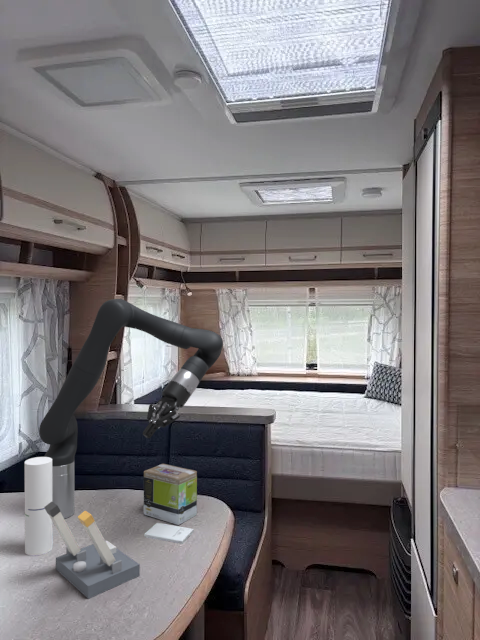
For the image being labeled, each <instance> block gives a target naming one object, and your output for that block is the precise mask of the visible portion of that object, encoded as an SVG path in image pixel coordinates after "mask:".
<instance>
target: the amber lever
mask: <svg viewBox="0 0 480 640" xmlns="http://www.w3.org/2000/svg"><path fill="white" fill-rule="evenodd" d="M77 519H78V520H79V523H80V524H81V525H82V526H83V528H84V530H85V532H86V534H87V536H88V538H89V539H90V541H91V544H94V546H95V548H96V550H97V552H98V553H99V555H100V557H101V559H102V561H103V562H104V563H106V564H107V565H108V566H111V567H112V563H114V561H115V558H114V556H113V554H112V552H111V551H110V549H109V547H108V545H107V543H106V541H107V540H106V539H105V538H104V536H103V534H102V532H101V531H100V529H99V527H98V525H97V523H96V521H95V518H94V517H93V515H92V514H91V513H90V512H88V511H87V510H84V511H83V512H81V513H80V514H79V515H78V516H77ZM105 540H106V541H105Z"/></svg>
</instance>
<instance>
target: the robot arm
mask: <svg viewBox="0 0 480 640" xmlns="http://www.w3.org/2000/svg"><path fill="white" fill-rule="evenodd" d="M122 328H129V329H134V330H138V331H141V332H144V333H146V334H148V335H150V336H152V337H155V338H156V339H158V340H160V341H162V342H164V343H165V344H169V345H171V346H174V347H177V348H180V349H183V350H188V349H190V348H196V349H197V350H196V352H195V353H194V354H193V355H192V356H190V357H188V358H187V360H186V361H185V362H184V363H183V365H182V366H181V367H180V369H179V370H178V371H177V372H176V373H175V374H174V375H173V377H172V378H171V379H170V381H169V382H168V384H167V385H166V386H165V387H164V388H163V390H162V391H161V395H162V396H161V398H160V399H159V400H158V401H157V403H156V404H153V403H150V404H149V405H148V411H147V416H146V420H147V421H148V422H149V423H148V424H147V426H146V427H145V429H143V432H142V435H143V436H144V437H145V438H146V439H151V438H152V437H153V435H154V434H155V433H156V431H157V430H158V429H160V428H163V429H164V428H165V427H168V426H169V425H170V424H172V423H174V422H175V421H177V420H178V419H179V418H180V414H179V413H178V411H179V410H180V408H183V407H184V406H185V405H186V403H187V402H188V401H189V399H190V398H191V396H192V395H193V394H194V392H195V391H196V389H197V387H198V386H199V384H200V382H202V381H201V380H203V378H204V377H205V375H206V373H207V372H208V370H210V368H211V367H212V366H213V365H214V364H215V363H216V361H218V359H219V357H220V356H221V354H222V351H223V350H222V349H223V345H224V340H223V338H222V336H221V335H219V333H217V332H215V331H212V330H209V329H203V328H196V327H195V328H193V327H189V326H187V325H185V324H181V323H178V322H176V321H173V320H170V319H166V318H163V317H160V316H157V315H155V314H152V313H150V312H147V311H146V310H143V309H141V308H139V307H137V306H136V305H134V304H132V303H131V302H129V301H127V300H126V299H123V298H114V299H109V300H106V301H105V302H103V303H102V304H101V306H100V307H99V308H98V311H97V313H96V316H95V319H94V322H93V324H92V327H91V329H90V333H89V334H88V336H87V338H86V340H85V342H84V343H83V345H82V347H81V349H80V351H79V352H78V354H77V356H76V358H75V360H74V361H73V363H72V366H71V367H70V369H69V371H68V374H67V376H66V378H65V379H64V382H63V384H62V386H61V388H60V390H59V392H58V394H57V396H56V398H55V399H54V401H53V403H52V404H51V406H50V408H49V409H48V411H47V413H46V414H45V415H44V417H43V419H42V420H41V421H40V425H39V430H38V433H39V438H40V439H41V441H42V442H43V443H45V444H47V445H50V446H49V447H48V449H47V451H46V452H45V454H44V456H43V457H49V458H52V502H54V503H55V504H56V505H58V507H59V509H60V511H61V514H62V516H63V518H64V520H66V519H68V518H70V517H72V516H73V515H74V514H75V457H76V456H75V455H76V453H77V449H78V434H79V433H78V429H79V428H78V421H77V418H76V417H75V415H74V414H75V412H76V410H77V409H78V407H79V406H80V405H81V404H82V403H83V402H84V401H85V400H86V398H87V397H88V396H89V395H90V394H91V392H92V391H93V390H94V388H95V387H96V385H97V384H98V382H99V379H100V378H101V376H102V374H103V372H104V369H105V367H106V363H107V360H108V355H109V350H110V347H111V345H112V343H113V341H114V339H115V338H116V336H117V334H118V333H119V332H120V330H121V329H122Z"/></svg>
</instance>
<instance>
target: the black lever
mask: <svg viewBox="0 0 480 640" xmlns="http://www.w3.org/2000/svg"><path fill="white" fill-rule="evenodd" d="M44 508H45V510H46V512H47V513H48V514H49V516H50V518H51V520H52V524H53V525H54V527H55V529H56V530H57V532H58V534H59V536H60V538H61V540H62V542H63V543H64V545H65V548H66V547H67V549H68V551H69V552H70V553H71V554H72V555H74V556H77V553H79V552H80V551H81V548H80V546H79V544H78V542H77V540H76V538H75V536H74V535H73V533H72V531H71V529H70V527H69V525H68V523H67V522H66V519H64V518H63V516H62V514H61V511H60V509H59V507H58V505H56V504H55V503H54V502H50V503H49V504H48V505H46V506H45V507H44Z"/></svg>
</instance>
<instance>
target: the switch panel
mask: <svg viewBox="0 0 480 640" xmlns="http://www.w3.org/2000/svg"><path fill="white" fill-rule="evenodd" d="M104 540H105V541H106V543H107V545H108V547H109V549H110V551H111V552H112V554H113V556H114V558H115V561H114V563H112V567H111V566H108V565H107V564H106V563H104V562H103V561H102V559H101V557H100V555H99V553H98V552H97V550H96V548H95V546H94V544H93V543H91V544H90V545H87V546H84V547H82V548H80V549H81V551H80V552H79V553H77V556H74V555H72V554H71V553H70V552H69V551H68V549H67V547H66V546H65V549H66V550H65V551H66V552H65V554H62V555H59V556H57V557H55V570H56V571H57V572H58V573H59V574H61V575H62V577H64V578H65V579H66V580H67V581H68V583H71V585H72V586H74V587H75V588H76V589H77V590H78V591H79V592H80V593H81V594H82V595H83V596H85V597H86V598H87V600H89V599H91V598H93V597H95V596H98V595H101V594H102V593H104V592H106V591H109V590H111V589H113V588H116V587H118V586H120V585H122V584H124V583H127V582H130V581H131V580H133V579H136V578H138V577H140V571H141V567H140V563H138V562H137V561H136V560H134V559H133V558H131V557H130V556H128V555H127V554H125V553H124V551H121V550H120V549H119V548H118V547H117V546H115V545H114V544H113V543H111V542H110V541H109V540H106V539H104Z"/></svg>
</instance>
